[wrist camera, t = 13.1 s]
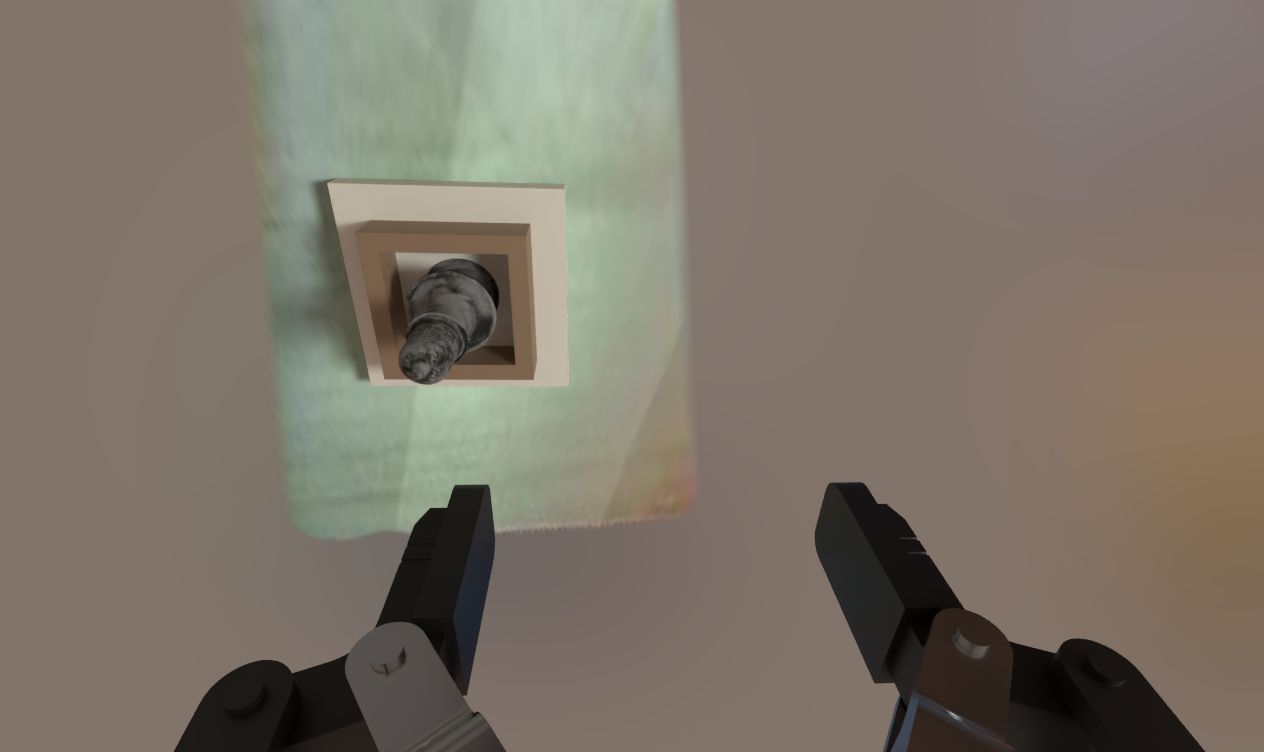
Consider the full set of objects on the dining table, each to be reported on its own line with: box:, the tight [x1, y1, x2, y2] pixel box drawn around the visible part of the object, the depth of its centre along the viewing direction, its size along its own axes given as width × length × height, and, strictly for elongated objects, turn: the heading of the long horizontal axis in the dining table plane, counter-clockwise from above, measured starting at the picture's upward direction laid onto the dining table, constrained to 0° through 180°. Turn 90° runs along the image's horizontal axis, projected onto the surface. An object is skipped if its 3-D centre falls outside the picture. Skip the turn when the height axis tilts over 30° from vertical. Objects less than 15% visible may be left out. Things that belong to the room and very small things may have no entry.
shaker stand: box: [327, 178, 569, 386], centre depth 40 cm, size 15×15×4 cm
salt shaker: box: [398, 258, 500, 385], centre depth 35 cm, size 6×6×12 cm
